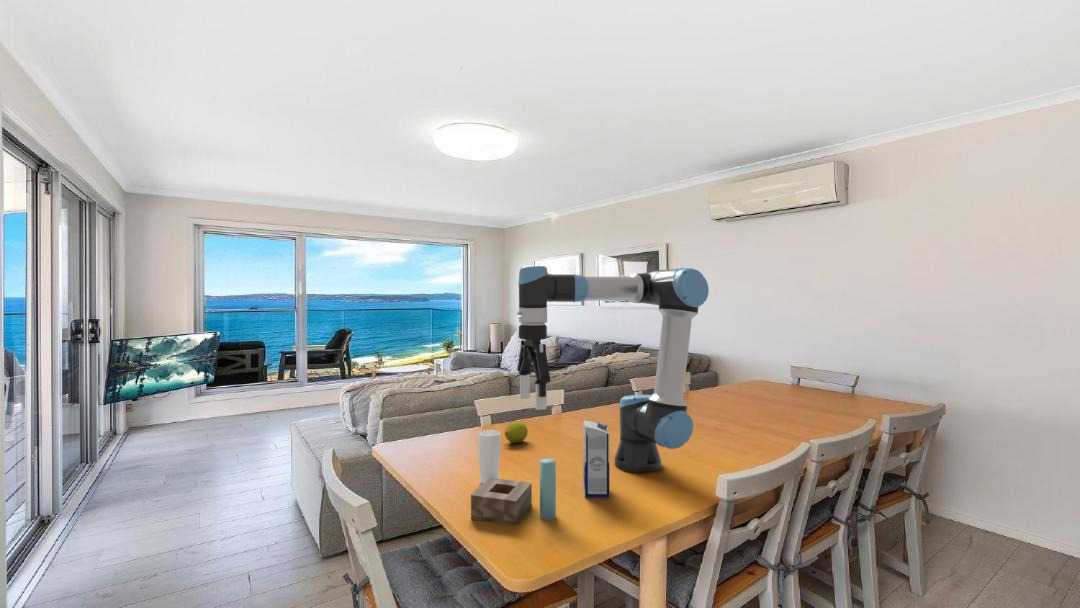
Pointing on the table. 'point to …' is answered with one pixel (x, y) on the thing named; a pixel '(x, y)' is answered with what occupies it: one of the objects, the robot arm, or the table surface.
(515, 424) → the lemon
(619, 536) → the table surface
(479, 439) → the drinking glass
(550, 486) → the dowel
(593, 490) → the milk carton
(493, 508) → the bore block
